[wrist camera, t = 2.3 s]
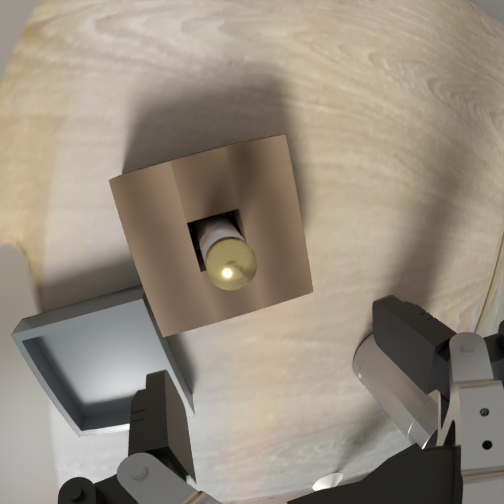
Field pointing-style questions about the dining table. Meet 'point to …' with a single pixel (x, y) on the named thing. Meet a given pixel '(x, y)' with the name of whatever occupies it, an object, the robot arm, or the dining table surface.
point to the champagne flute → (328, 481)
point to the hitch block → (205, 205)
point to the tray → (98, 358)
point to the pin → (225, 253)
